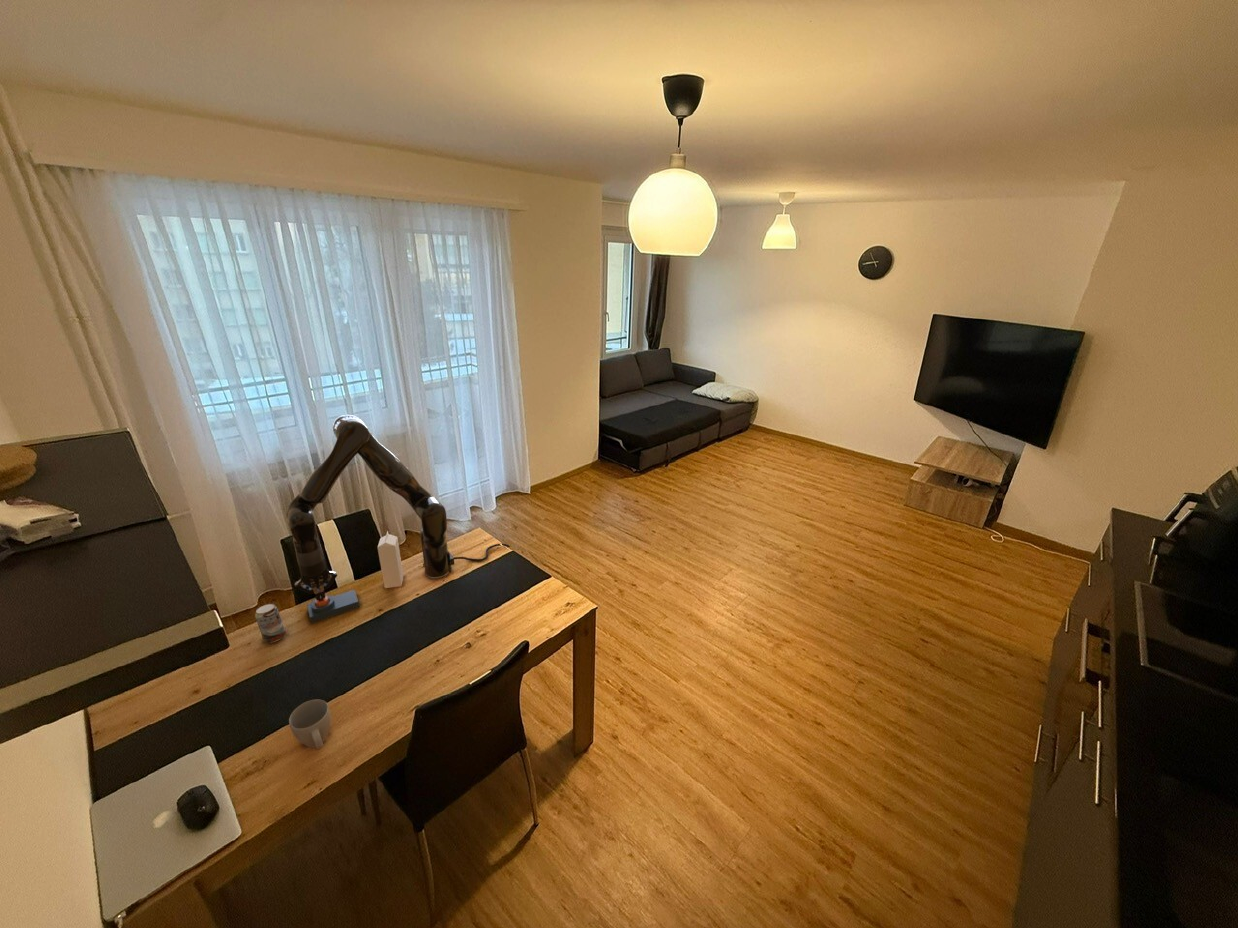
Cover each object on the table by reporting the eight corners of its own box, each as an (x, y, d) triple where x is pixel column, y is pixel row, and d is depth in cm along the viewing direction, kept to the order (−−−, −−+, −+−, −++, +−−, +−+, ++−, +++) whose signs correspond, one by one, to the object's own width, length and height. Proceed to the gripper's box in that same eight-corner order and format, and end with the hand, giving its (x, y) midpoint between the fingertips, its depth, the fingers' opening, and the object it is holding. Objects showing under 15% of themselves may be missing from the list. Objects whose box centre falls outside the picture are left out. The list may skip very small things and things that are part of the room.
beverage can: (269, 648, 154) (260, 619, 149) (258, 638, 157) (248, 609, 152) (290, 636, 159) (282, 608, 154) (279, 626, 162) (270, 599, 157)
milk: (384, 588, 183) (375, 540, 173) (387, 578, 188) (378, 531, 178) (401, 586, 184) (393, 538, 175) (404, 576, 189) (396, 529, 180)
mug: (293, 735, 128) (285, 711, 124) (330, 716, 134) (323, 692, 130) (303, 770, 121) (295, 745, 117) (342, 748, 126) (335, 724, 122)
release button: (328, 598, 171) (327, 594, 170) (330, 605, 168) (328, 600, 167) (315, 602, 168) (314, 598, 167) (316, 609, 166) (315, 604, 165)
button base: (355, 595, 178) (353, 585, 176) (359, 607, 173) (357, 597, 171) (308, 610, 170) (305, 600, 168) (311, 623, 164) (308, 613, 162)
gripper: (288, 571, 153) (300, 613, 161) (335, 558, 161) (344, 598, 168) (286, 559, 159) (297, 600, 166) (331, 547, 166) (340, 586, 174)
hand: (321, 599), depth 167 cm, fingers closed
